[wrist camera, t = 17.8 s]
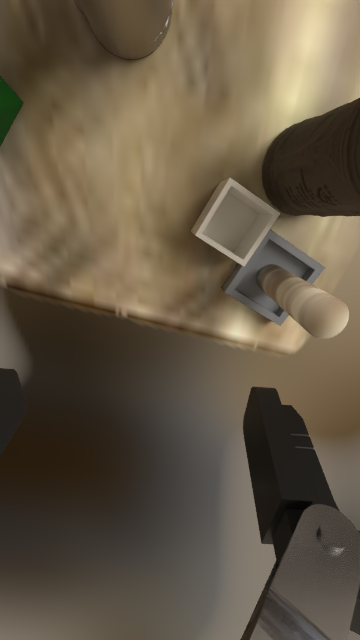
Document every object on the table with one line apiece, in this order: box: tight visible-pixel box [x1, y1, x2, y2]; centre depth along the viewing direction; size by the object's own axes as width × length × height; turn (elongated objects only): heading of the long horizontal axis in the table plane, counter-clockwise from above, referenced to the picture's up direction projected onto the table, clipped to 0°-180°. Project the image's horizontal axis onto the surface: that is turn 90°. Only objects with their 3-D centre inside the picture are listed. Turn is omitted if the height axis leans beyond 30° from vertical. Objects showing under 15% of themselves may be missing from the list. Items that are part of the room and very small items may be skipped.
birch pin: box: [256, 264, 349, 339], centre depth 34 cm, size 4×4×16 cm
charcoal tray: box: [221, 230, 325, 326], centre depth 42 cm, size 10×10×2 cm
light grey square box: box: [191, 178, 280, 267], centre depth 37 cm, size 7×7×6 cm
